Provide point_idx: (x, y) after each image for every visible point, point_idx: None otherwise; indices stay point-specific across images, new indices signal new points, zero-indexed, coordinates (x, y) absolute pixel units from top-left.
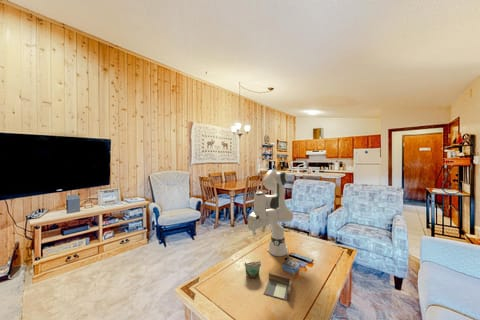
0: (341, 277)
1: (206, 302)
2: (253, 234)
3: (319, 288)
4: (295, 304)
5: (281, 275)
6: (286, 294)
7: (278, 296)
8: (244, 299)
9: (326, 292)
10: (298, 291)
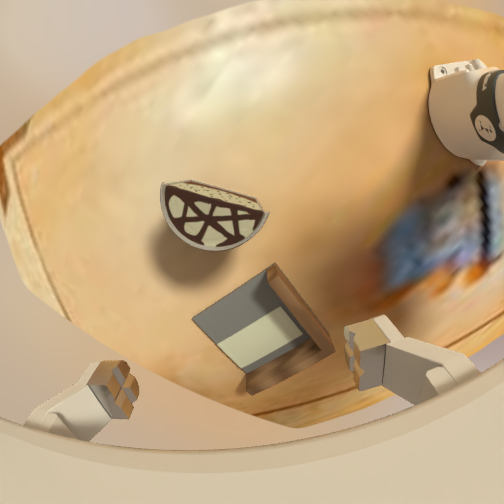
0: None
1: (26, 245)
2: (93, 370)
3: None
4: None
5: (309, 320)
6: (264, 359)
7: (230, 355)
8: (119, 299)
9: (375, 390)
10: None
